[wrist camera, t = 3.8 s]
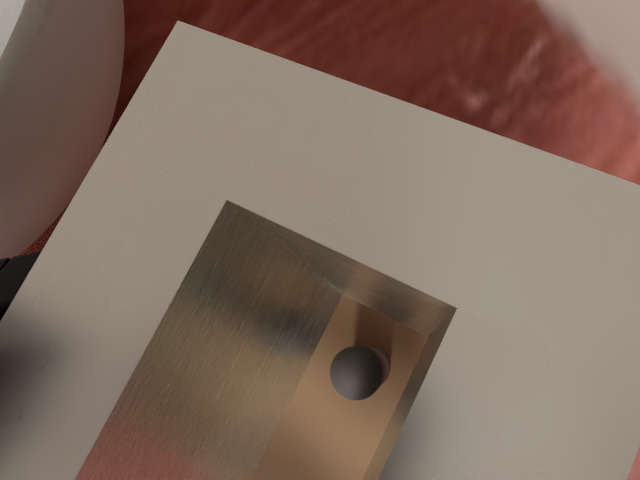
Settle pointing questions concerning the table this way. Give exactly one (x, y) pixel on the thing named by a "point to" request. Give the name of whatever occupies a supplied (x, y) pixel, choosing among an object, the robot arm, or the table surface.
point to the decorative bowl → (53, 106)
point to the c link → (320, 285)
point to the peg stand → (343, 398)
